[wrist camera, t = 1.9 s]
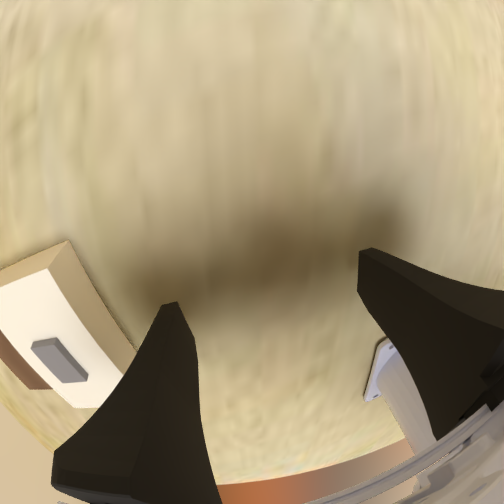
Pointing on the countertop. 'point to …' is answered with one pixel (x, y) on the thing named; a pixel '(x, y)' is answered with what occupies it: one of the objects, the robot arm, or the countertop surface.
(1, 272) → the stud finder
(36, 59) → the countertop surface
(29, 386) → the brown flat slab
